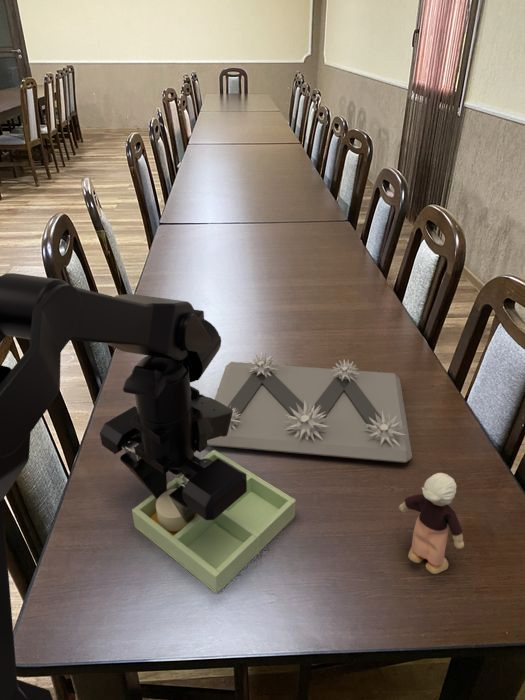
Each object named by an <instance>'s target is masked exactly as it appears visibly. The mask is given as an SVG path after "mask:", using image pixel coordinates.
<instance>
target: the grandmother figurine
mask: <svg viewBox="0 0 525 700" xmlns="http://www.w3.org/2000/svg"><path fill="white" fill-rule="evenodd" d="M421 490H422V494H419V493H418V494H414V495H411V496H408V497H406V498H404V501H402V503H400V504H399V506H398V509H399V511H400V512H401V513H403V514H406V513H407V512H408V511H409V510H412V511H416V512H418V513H419V514H418V516H417V518H416V521H415V523H414V529H413V531H412V532H413V533H412V541H411V547H410V549H409V552H408V559H409V560H410V561H411V562H413V563H415V564H420V563H422V562H423V561H424V560H427V562H426V563H425V569H426V570H427V571H428V572H429V573H430V574H433V575H437V574H440V573H442V572H444V571H446V570H447V569H448V568H449V562H448V560H447V558H446V557H445V554H446V548H447V543H448V537H449V536H448V535H449V531H450V534H451V536H452V540H453V545H454V547H455V548H456V549H457V550H462V549H464V547H465V542H464V535H463V529H462V528H463V527H462V526H461V523H460V521H459V518H458V516H457V513H456V512H455V510H454V509H453V508H452V507H451V506H449V504H451V503H453V499H454V498H455V497H456V493H457V483H456V482H455V479H454V477H452V476H450V475H449V474H447V473H444V472H437V473H434V474H433V475H431V476H429V477H428V478H427V479H426V480H425V481H424V484H423V487H421ZM448 530H449V531H448Z"/></svg>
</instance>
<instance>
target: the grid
mask: <svg viewBox="0 0 525 700" xmlns="http://www.w3.org/2000/svg"><path fill="white" fill-rule="evenodd" d="M206 458H207V459H210V460H212V461H215V460H216V459H217V458H219V459H222V460H224V461H226V462H228V463H229V464H231V465H232V466H234V467H236V468H237V469H239V470H241V471H242V472H244V473H245V474H246V478H247V492H246V493H245V494H244V495H242V496H241V497H240V498H239V499H238V500H237V501H235V502H234V503H233V504H232V505H231V506H230V507H228V508H227V509H226V510H225V511H224V512H222V513H221V514H220V515H219V516H218V517H217V518H215V519H214V520H205V519H203V518H202V517H201V516H199V515H198V514H197V513H196V514H195V519H194V520H192V521H191V522H190V523H189V524H188V525H186V526H185V527H184V528H183V529H182V530H180V531H168V530H165V529H164V528H162V527H161V526H160V525H159V523H158V519H157V511H156V501H157V499H156V498H155V497H154V496H153V495H152V494H151V495H150V496H149V497H147V498H146V499H144V500H143V501H142V502H140V503H139V504H138V505H137V506H135V507H134V508H132V509H131V514H132V520H133V525H134V526H133V527H134V528H135V529H137V530H138V531H139V532H140V533H141V534H143V535H144V537H146V538H147V539H149V540H150V541H151V542H152V543H153V544H155V545H156V546H157V547H158V548H159V549H160V550H162V551H163V552H164V553H166V554H167V555H169V556H170V557H171V558H172V559H173V560H174V561H176V562H177V563H178V564H180V565H181V566H182V567H183V568H184V569H185V570H187V571H188V572H189V573H190V574H192V575H193V576H194V577H195V578H196V579H197V580H198V581H200V582H201V583H203V584H204V585H205V586H207V588H208V589H210V590H211V591H212V592H214V594H216V595H218V594H219V593H220V592H221V591H222V590H223V589H224V588H225V587H226V586H227V585H228V584H229V583H230V582H231V581H232V580H233V579H234V578H235V577H236V576H237V575H238V574H239V573H240V572H241V571H242V570H243V569H244V568H245V567H246V566H247V565H248V564H249V563H250V562H251V561H253V559H254V558H255V557H256V556H258V554H259V553H261V551H262V550H263V549H264V548H265V547H266V546H267V545H268V544H269V543H270V542H271V541H272V540H273V539H274V538H275V537H276V536H277V535H278V534H279V533H280V532H281V531H282V530H283V529H284V528H285V527H286V526H288V524H289V523H291V522H292V521H293V519H295V517H296V505H297V500H296V499H295V498H293V497H292V496H290V495H288V494H287V493H285V492H284V491H282V490H280V489H279V488H278V487H276V486H274V485H272V484H271V483H269V482H267V481H266V480H264V479H263V478H261V477H259V476H258V475H257V474H254V473H253V472H252V471H249V470H248V469H247V468H245V467H243V466H242V465H240V464H239V463H237V462H235V461H234V460H232V459H230V458H229V457H227V456H226V455H224V454H222V453H220V452H219V451H217V450H216V449H213V450H211V451H210V452H209V453H206V455H204V456H203V457H201V459H206ZM183 476H184V475H182V476H180V477H179V478H176V477H174V478H173V479H172V480H171V481H169V482H167V491H168V490H171V489H177V488H179V487H180V486H181V485H182V483H183V482H184V481H183Z"/></svg>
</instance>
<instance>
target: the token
mask: <svg viewBox="0 0 525 700" xmlns="http://www.w3.org/2000/svg"><path fill="white" fill-rule="evenodd" d="M175 490H176V489H171V490H168V491H166V492H164V493H163V494H161V495H160V496H159V498H158V499H157V501H156V511H157V519H158V523H159V525H160V526H161V527H162V528H164V529H165V530H168V531H180V530H182V529H183V528H184V527H185V526H186V525H188V524H189V523H190V522H191V521H192V520H194V519H195V516H194V518H193V519H192V520H191V521H190V522H188V523H187V522H185V520H184V519H183V518H182V516H181V515H180V513H179V511H178V510H177V508H176V506H175V505H174V503H173V502H172V500H171V498H170V497H169V494H171V493H172V492H173V491H175Z"/></svg>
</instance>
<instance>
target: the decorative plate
mask: <svg viewBox="0 0 525 700" xmlns="http://www.w3.org/2000/svg"><path fill="white" fill-rule="evenodd" d="M255 356H256V358H254V357H252V356H251V359H252V361H253V362H252V361H247V362H241V361H230V362H228V364H226V365H225V367H224V371H223V373H222V377H221V379H220V382H219V386H218V388H217V391H216V394H215V397H214V400H216V401H218V402H220V403H222V404H223V405H225V406H227V407H229V408H231V409H232V410H233V413H232V417H231V422H230V426H229V430H228V434H227V436H225V437H222V436H220V437H217V438H214V439H210V440H207V446H208V447H220V448H231V449H232V448H233V449H241V450H242V449H243V450H256V451H265V452H266V451H267V452H276V453H289V454H298V455H299V454H300V455H311V456H321V457H334V458H344V459H356V460H366V461H367V460H368V461H378V462H390V463H400V464H401V463H402V464H406V463H407V462H408V461H411V459H413V452H412V446H411V440H410V434H409V427H408V421H407V415H406V409H405V403H404V397H403V391H402V385H401V380H400V379H401V378H400V377H399V376H398V375H397V374H396V373H393V372H379V371H366V370H365V371H364V370H359V369H360V368H359V367H358V366H357V364H355V365H354V361H352V362H351V363H350V360H349V359H350V358H348V359H347V360H346V361H345V359H343V362H342V361H341V360H340V359H338V361H339V363H335V366H336V367H335V366H332V368H324V367H322V368H321V367H313V366H312V367H311V366H299V365H298V366H295V365H283V364H279V363H278V362H277V361H274V360H275V358H274V359H273V357H274V356H272V355H268V356H267V352H265V353H264V354H263V353H262V351H261V352H260V356H258V355H257V353H255ZM339 364H340V365H339Z"/></svg>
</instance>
